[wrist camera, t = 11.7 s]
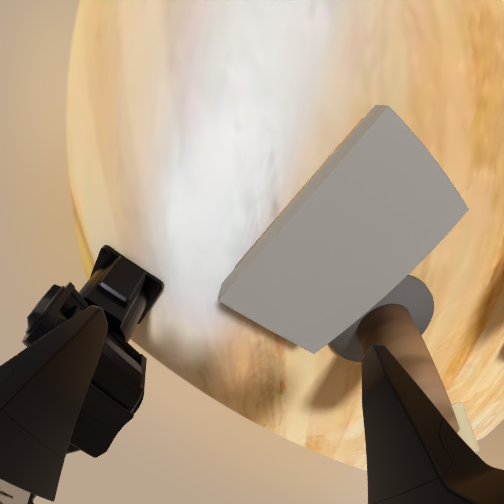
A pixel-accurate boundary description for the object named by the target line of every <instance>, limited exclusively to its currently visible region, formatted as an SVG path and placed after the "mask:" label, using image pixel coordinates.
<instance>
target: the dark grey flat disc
mask: <svg viewBox="0 0 504 504" xmlns="http://www.w3.org/2000/svg"><path fill="white" fill-rule="evenodd" d="M392 303H395V304H401V305H403V306H405V307H406V308H407V309H408V311H409V313H410V315H411V317H412V318H413V320H414V322H415V324H416V326H417V328H418V330H419V332H420V334H421V335H422V334H423V333H424V331H425V330H426V328H427V327H428V325H429V323H430V321H431V318H432V315H433V311H434V301H433V297H432V295H431V292H430V291H429V289H428V288H427V287H426V285H425V284H424V283H423V282H422V281H421V280H419V279H418V278H416V277H413V276H411V275H407V276H406V277H405V278H404V279H403V280H402V281H401V282H400V283H399V284H398V285H397V286H396V287H395V288H393V289H392V290H391V291H390V292H389V293H388V294H387V295H386V296H385V297H384V298H382V299H381V300H380V301H379V302H378V303H377V304H376V305H375V306H373V307H372V308H371V309H370V310H369V311H368V312H366V313H365V314H364V315H363V316H362V317H360V318H359V319H358V320H357V321H356V322H354V323H353V324H352V325H351V326H350V327H348V328H347V329H346V330H345V331H343V332H342V333H341V334H340V335H338V336H337V337H336V338H335V339H333V340H332V341H331V343H332V346H333V348H334V349H335V351H336V352H337V353H338V354H339V355H341V356H342V357H344V358H346V359H348V360H352V361H357V362H362V360H363V358H364V357H363V354H362V350H361V347H360V343H359V340H358V336H357V328H358V325H359V323H360V321H361V320H362V319H363V318H364V317H365V316H366V315H367V314H368V313H369V312H370V311H372V310H373V309H375V308H377V307H379V306H382V305H385V304H392Z"/></svg>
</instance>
